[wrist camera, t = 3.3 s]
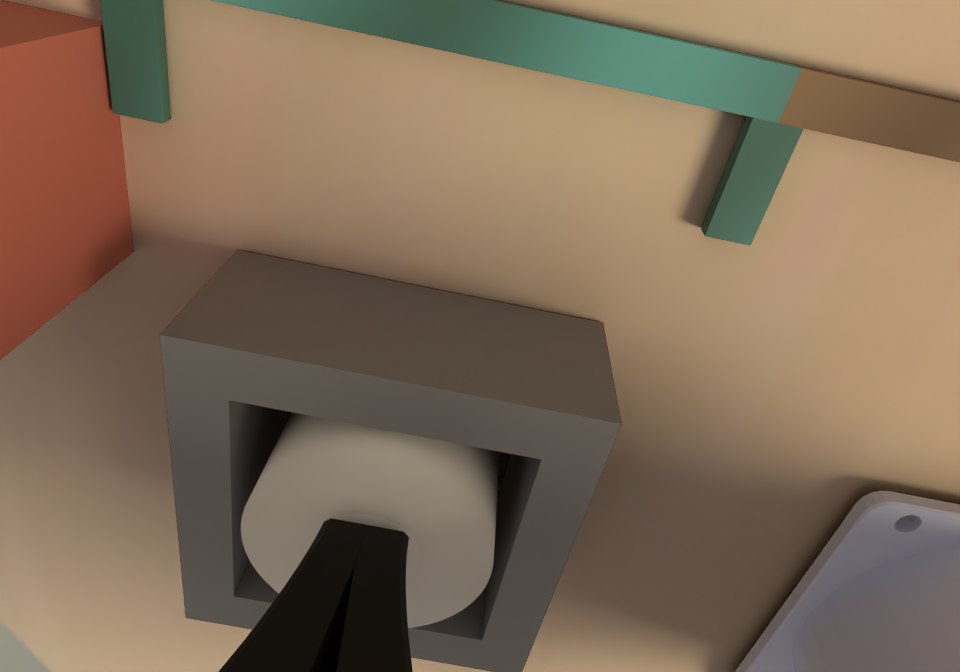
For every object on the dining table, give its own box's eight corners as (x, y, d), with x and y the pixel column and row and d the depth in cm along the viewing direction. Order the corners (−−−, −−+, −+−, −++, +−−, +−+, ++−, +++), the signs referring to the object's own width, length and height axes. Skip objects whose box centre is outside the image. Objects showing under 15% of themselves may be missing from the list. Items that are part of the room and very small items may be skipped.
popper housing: (603, 322, 12) (621, 424, 10) (521, 558, 16) (520, 676, 14) (237, 249, 12) (159, 334, 10) (241, 507, 16) (185, 617, 13)
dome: (521, 374, 13) (518, 500, 10) (479, 525, 15) (467, 661, 12) (298, 331, 13) (231, 446, 10) (291, 490, 15) (235, 620, 12)
